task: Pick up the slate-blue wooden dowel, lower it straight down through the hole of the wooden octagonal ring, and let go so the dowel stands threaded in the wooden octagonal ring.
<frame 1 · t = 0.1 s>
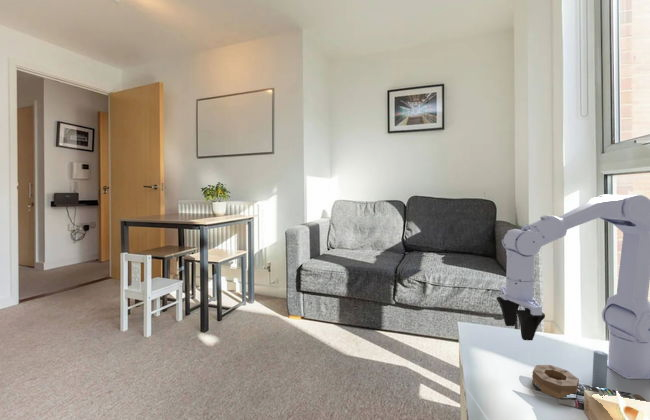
hand: (518, 332, 78), 10 cm above the table, tool pointing down, fingers open, 7 cm apart
dowel: (599, 387, 72), on the table
wooden octagonal ring: (554, 387, 72), on the table
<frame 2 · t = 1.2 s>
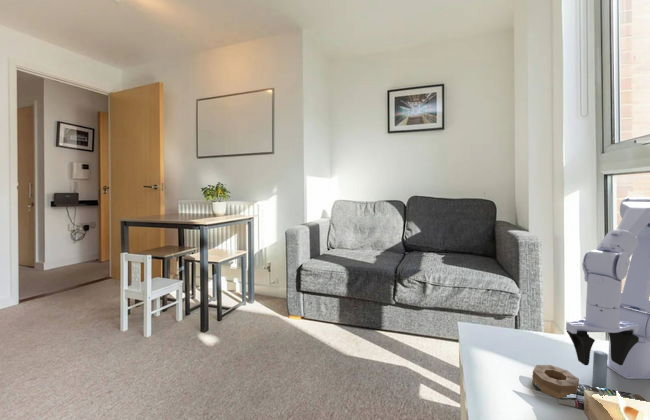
hand: (600, 362, 71), 6 cm above the table, tool pointing down, fingers open, 7 cm apart
nothing on the table moved.
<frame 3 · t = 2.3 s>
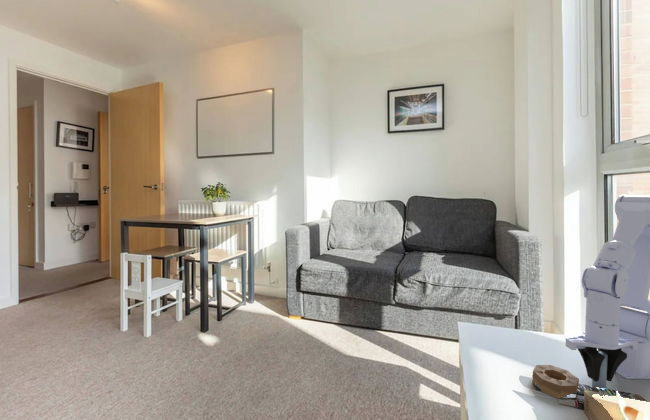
hand: (599, 378, 71), 2 cm above the table, tool pointing down, fingers closed on dowel, 2 cm apart
dowel: (599, 387, 72), on the table, touching gripper
everything else where it was.
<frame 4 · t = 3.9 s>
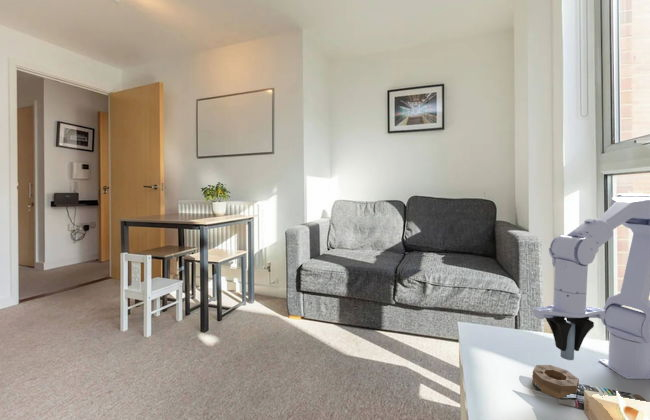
hand: (567, 348, 71), 9 cm above the table, tool pointing down, fingers closed on dowel, 2 cm apart
dowel: (567, 357, 71), point 7 cm above the table, touching gripper
everything else where it was.
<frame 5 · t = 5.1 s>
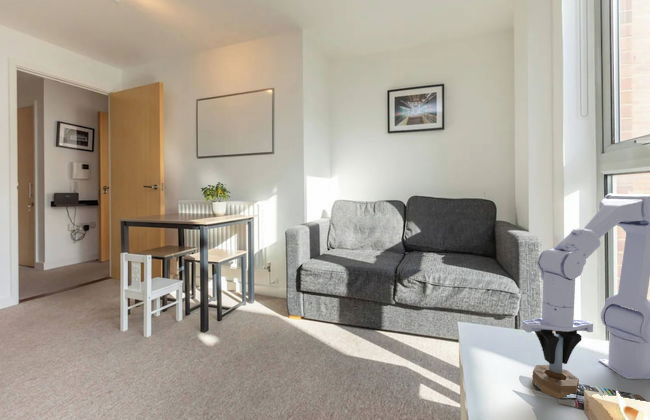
hand: (555, 361, 71), 6 cm above the table, tool pointing down, fingers closed on dowel, 2 cm apart
dowel: (555, 370, 71), point 4 cm above the table, touching gripper
everything else where it was.
when the fingers open (4 cm above the table, at t = 5.8 s): dowel drops 2 cm, resting in wooden octagonal ring.
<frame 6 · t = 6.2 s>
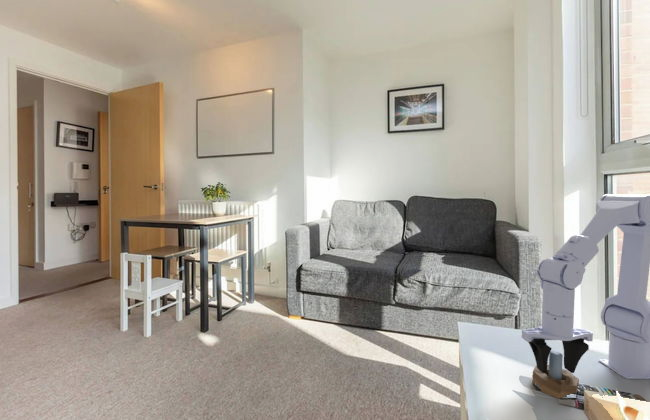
hand: (555, 370, 71), 4 cm above the table, tool pointing down, fingers open, 6 cm apart
dowel: (554, 387, 72), resting in wooden octagonal ring
everything else where it was.
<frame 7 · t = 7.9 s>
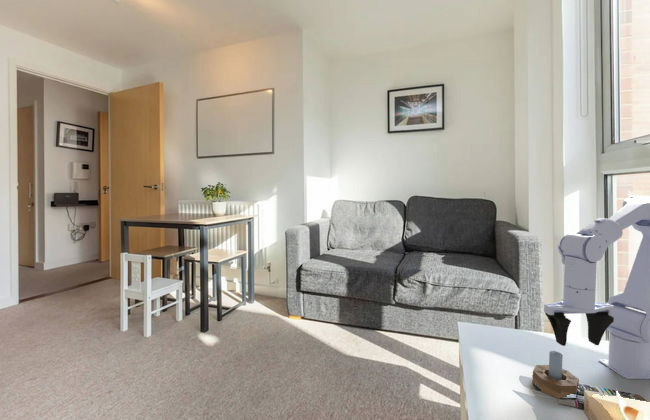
hand: (577, 343, 73), 9 cm above the table, tool pointing down, fingers open, 7 cm apart
nothing on the table moved.
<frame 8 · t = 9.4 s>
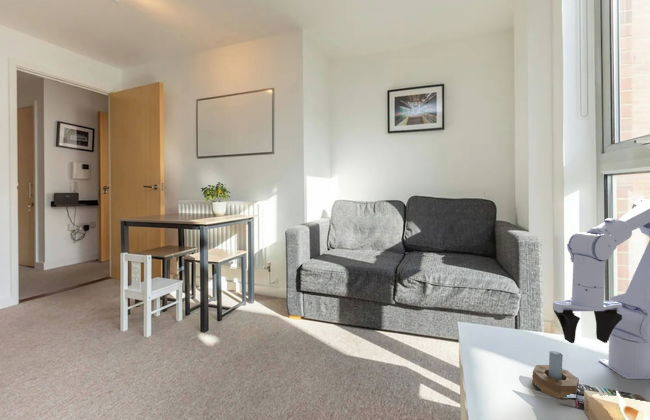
hand: (585, 340, 74), 9 cm above the table, tool pointing down, fingers open, 7 cm apart
nothing on the table moved.
at the end: dowel 0.1 cm from the wooden octagonal ring (horizontally); dowel resting in wooden octagonal ring; the gripper is holding nothing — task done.
